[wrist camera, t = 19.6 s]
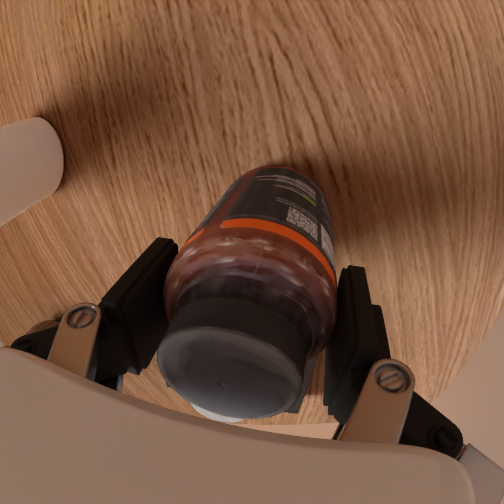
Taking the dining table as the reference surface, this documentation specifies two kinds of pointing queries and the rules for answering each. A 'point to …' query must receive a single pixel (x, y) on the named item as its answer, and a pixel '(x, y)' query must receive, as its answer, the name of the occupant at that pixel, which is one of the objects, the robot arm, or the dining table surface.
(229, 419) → the white button cap
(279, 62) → the dining table surface
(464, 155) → the dining table surface
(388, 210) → the dining table surface
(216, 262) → the supplement bottle
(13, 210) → the can
